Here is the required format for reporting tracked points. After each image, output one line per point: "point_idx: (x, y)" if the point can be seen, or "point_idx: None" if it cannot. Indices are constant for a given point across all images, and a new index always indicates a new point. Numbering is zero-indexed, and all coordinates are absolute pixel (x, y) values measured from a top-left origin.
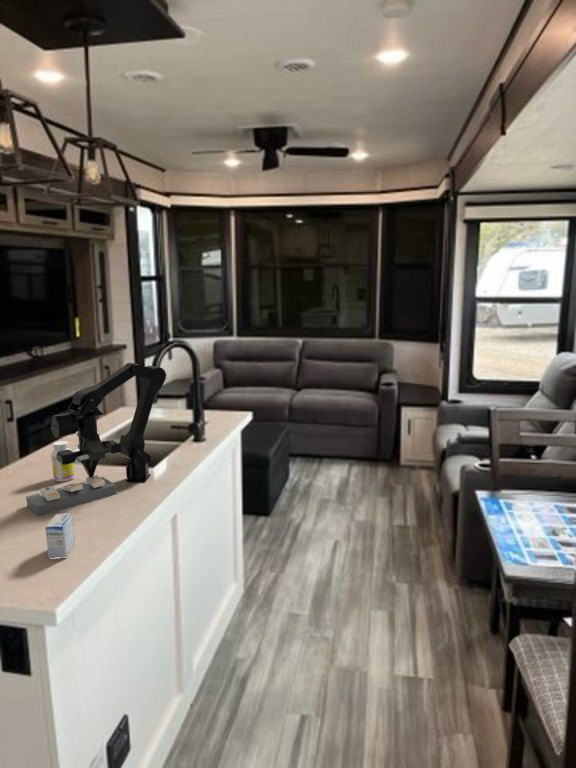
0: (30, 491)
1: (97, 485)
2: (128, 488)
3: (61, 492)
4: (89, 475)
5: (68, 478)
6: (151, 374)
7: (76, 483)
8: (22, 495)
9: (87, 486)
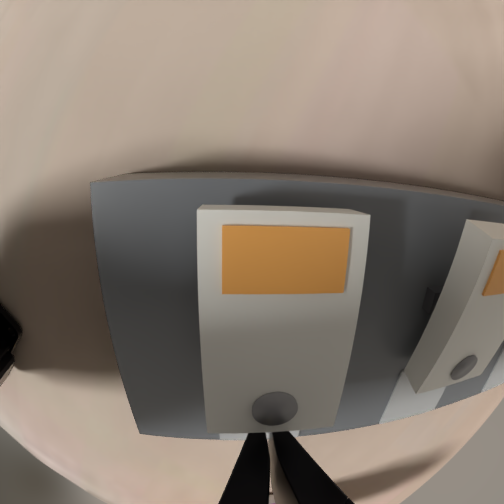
0: (414, 461)
1: (310, 209)
2: (29, 219)
3: None
4: (298, 442)
5: (272, 501)
6: None
7: (435, 368)
8: (447, 440)
9: None
